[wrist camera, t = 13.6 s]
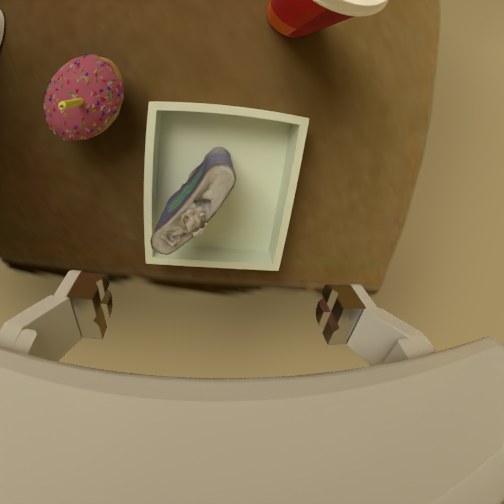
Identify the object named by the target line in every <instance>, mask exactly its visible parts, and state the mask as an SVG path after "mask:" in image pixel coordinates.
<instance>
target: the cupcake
mask: <svg viewBox="0 0 504 504" xmlns="http://www.w3.org/2000/svg"><path fill="white" fill-rule="evenodd" d="M123 99H124V85H123V78H122V74H121V72H120V71H119V70H118V68H117V67H116V65H115V64H114V63H113V62H112V61H111V60H109V59H107V58H103V57H98V56H97V55H87V54H86V55H84V56H81V57H77V58H74V59H72V60H70V61H68V62H67V63H66V64H65V65H64V66H62V67H61V68H60V69H59V70H58V71H57V72H56V74H55V75H54V76H53V77H52V79H51V81H50V82H49V86H48V88H47V90H46V91H45V100H44V105H43V106H44V112H45V118H46V122H47V124H48V126H49V127H50V130H51V129H52V130H53V131H54V132H55V133H54V134H57V135H58V136H60V137H61V138H63V140H67V141H73V140H84V139H86V140H87V139H89V138H91V137H94V136H96V135H98V134H100V133H102V132H103V131H105V130H106V129H107V128H108V127H109V126H110V125H111V124H112V122H113V121H114V120H115V119H116V118H117V116H118V114H119V111H120V108H121V104H122V102H123Z"/></svg>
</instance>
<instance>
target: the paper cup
mask: <svg viewBox="0 0 504 504" xmlns="http://www.w3.org/2000/svg"><path fill="white" fill-rule="evenodd" d="M387 2H388V0H270V2H269V5H268V8H267V19H268V21H269V23H270V25H271V26H272V27H273V28H274V29H275V30H276V31H277V32H279V33H281V34H283V35H285V36H289V37H303V36H307V35H309V34H312V33H314V32H317V31H319V30H321V29H324V28H326V27H329V26H331V25H333V24H336V23H338V22H341V21H343V20H346V19H349V18H351V17H354V16H369V15H372V14H375V13H377V12H379V11H381V10H382V9H383V8H384V7H385V6H386V4H387Z"/></svg>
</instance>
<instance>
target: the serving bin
mask: <svg viewBox="0 0 504 504" xmlns="http://www.w3.org/2000/svg"><path fill="white" fill-rule="evenodd" d="M308 123H309V118H305V117H300V116H295V115H290V114H284V113H279V112H273V111H266V110H259V109H252V108H244V107H236V106H227V105H216V104H203V103H186V102H149V106H148V116H147V129H146V144H145V166H144V235H145V258H146V264H161V265H177V266H194V267H212V268H230V269H250V270H271V271H279V267H280V263H281V258H282V254H283V249H284V244H285V240H286V235H287V230H288V226H289V221H290V216H291V211H292V206H293V202H294V197H295V192H296V187H297V182H298V177H299V171H300V166H301V161H302V156H303V151H304V145H305V140H306V134H307V129H308ZM216 147H223V148H225V149H227V151H228V152H229V153H230V155H231V161H232V164H233V168H234V171H235V174H236V182H235V184H234V187H233V189H232V190H231V192H230V194H229V195H228V197H227V198H226V199H225V201H224V202H223V204H222V205H221V206H220V208H219V209H218V210H217V212H216V213H215V215H214V216H213V217H212V218H211V219H210V220H209V221H208V225H207V227H206V226H204V227H203V229H205V232H204V233H203V234H201V235H199V236H194V237H193V238H191V239H190V240H189V241H187V242H186V243H185V244H184V245H183V246H181V247H180V248H179V249H177V250H176V251H175V252H173V253H171V254H168V255H165V254H160V253H158V252H157V251H155V250H154V249H152V247H151V243H150V240H151V236H152V234H153V232H154V230H155V228H156V225H157V223H158V221H159V219H160V217H161V214H162V212H163V211H164V208H165V207H166V204H167V201H168V199H170V197H171V196H172V195H173V194H174V193H175V192H177V191H179V189H180V188H181V186H182V184H185V183H186V182H187V180H188V178H189V174H191V172H192V171H193V170H194V169H195V168H196V167H198V166H199V165H200V164H201V163H202V162H203V160H204V157H205V156H206V154H208V153H209V152H210V151H211V150H212V149H213V148H216Z"/></svg>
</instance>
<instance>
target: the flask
mask: <svg viewBox="0 0 504 504" xmlns="http://www.w3.org/2000/svg"><path fill="white" fill-rule="evenodd" d="M235 182H236V174H235V171H234V168H233V164H232V161H231V155H230V153H229V152H228V151H227V149H225V148H223V147H216V148H213V149H212V150H211V151H210V152H209V153H208V154H206V156H205V157H204V160H203V162H202V163H201V164H200V165H199V166H198V167H196V168H195V169H194V170H193V171H192V172H191V174H189V178H188V180H187V182H186V183H185V184H182V186H181V188H180V189H179V191H177V192H175V193H174V194H173V195H172V196H171V197H170V199H168V201H167V204H166V207H165V208H164V211H163V212H162V214H161V217H160V219H159V221H158V223H157V225H156V228H155V230H154V232H153V234H152V236H151V240H150V243H151V247H152V249H154V250H155V251H157V252H158V253H160V254H165V255H168V254H171V253H173V252H175V251H176V250H177V249H179V248H180V247H181V246H183V245H184V244H185V243H186V242H187V241H189V240H190V239H191V238H193V237H194V236H199V235H201V234H203V233H204V232H205V229H203V227H204V226H206V227H207V225H208V221H209V220H210V219H211V218H212V217H213V216H214V215H215V213H216V212H217V210H218V209H219V208H220V206H221V205H222V204H223V202H224V201H225V199H226V198H227V197H228V195H229V194H230V192H231V190H232V189H233V187H234V184H235Z"/></svg>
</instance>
